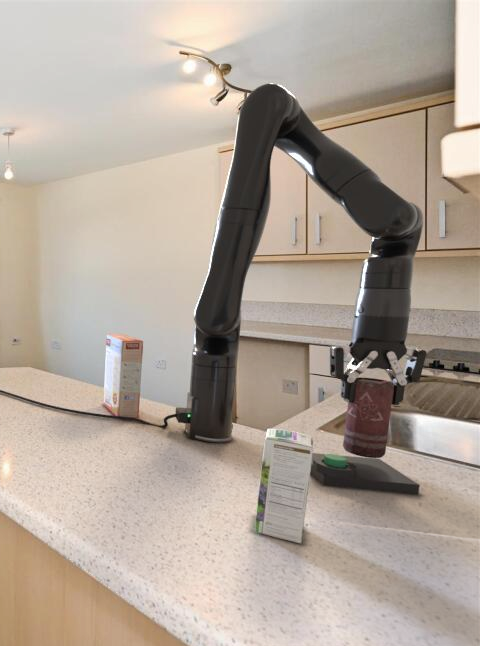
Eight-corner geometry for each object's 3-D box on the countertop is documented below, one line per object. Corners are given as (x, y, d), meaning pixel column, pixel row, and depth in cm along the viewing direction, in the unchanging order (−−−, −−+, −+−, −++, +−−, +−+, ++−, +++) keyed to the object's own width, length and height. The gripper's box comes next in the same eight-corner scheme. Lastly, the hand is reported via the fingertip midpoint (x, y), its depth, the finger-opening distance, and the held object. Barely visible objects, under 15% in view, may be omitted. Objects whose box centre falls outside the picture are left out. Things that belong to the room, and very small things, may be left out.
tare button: (328, 467, 84) (329, 459, 83) (320, 460, 87) (321, 452, 86) (349, 469, 83) (350, 461, 83) (340, 462, 86) (341, 454, 86)
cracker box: (140, 419, 123) (144, 340, 120) (117, 419, 123) (120, 340, 120) (123, 404, 136) (126, 333, 134) (102, 404, 136) (105, 333, 134)
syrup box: (256, 516, 73) (264, 426, 71) (303, 527, 70) (312, 434, 68) (254, 532, 68) (262, 437, 66) (303, 545, 65) (314, 445, 63)
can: (394, 460, 84) (404, 384, 83) (354, 457, 86) (363, 382, 84) (373, 448, 90) (382, 377, 88) (335, 445, 92) (344, 375, 90)
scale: (320, 486, 83) (322, 467, 83) (293, 460, 95) (294, 443, 95) (420, 496, 79) (423, 477, 79) (378, 468, 91) (380, 450, 91)
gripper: (416, 312, 86) (404, 400, 88) (325, 311, 90) (316, 395, 92) (444, 315, 79) (431, 411, 81) (344, 314, 83) (334, 405, 85)
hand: (370, 402), depth 87 cm, fingers closed on can, 6 cm apart
